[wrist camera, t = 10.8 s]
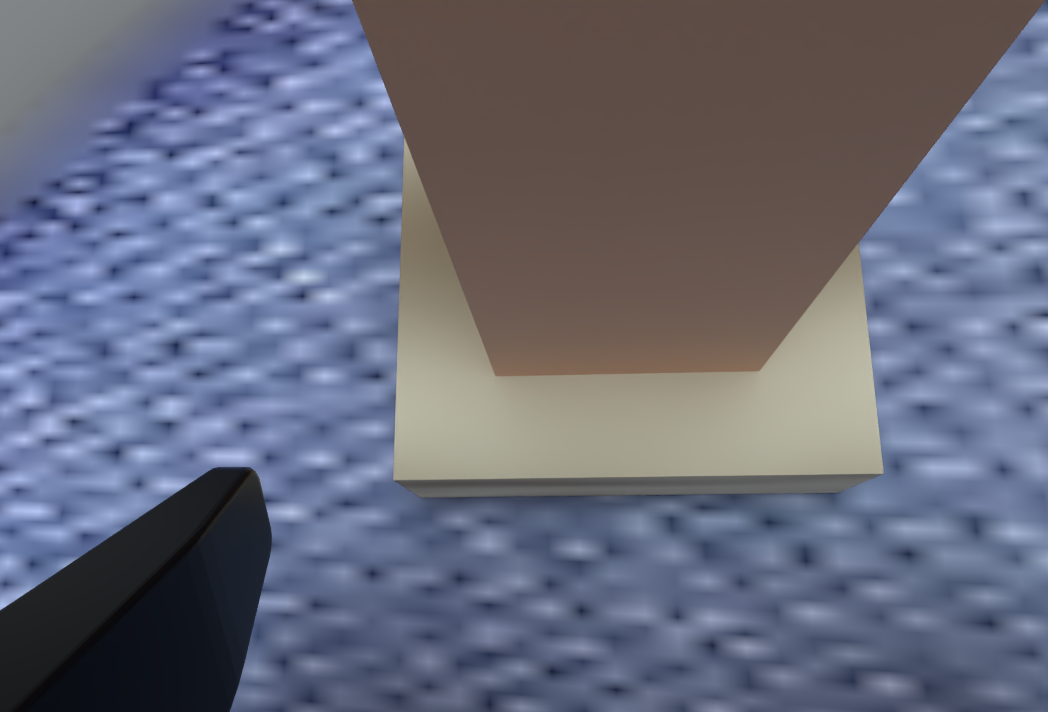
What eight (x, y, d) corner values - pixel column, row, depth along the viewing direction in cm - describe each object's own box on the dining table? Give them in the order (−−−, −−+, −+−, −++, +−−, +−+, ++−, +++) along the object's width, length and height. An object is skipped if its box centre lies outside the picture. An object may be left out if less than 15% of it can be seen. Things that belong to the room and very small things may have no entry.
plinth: (838, 492, 19) (883, 473, 17) (420, 497, 20) (393, 480, 17) (802, 114, 22) (836, 40, 19) (429, 128, 22) (407, 57, 19)
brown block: (759, 371, 17) (1175, -167, 5) (495, 376, 18) (306, -122, 5) (741, 132, 19) (1040, -743, 6) (496, 140, 19) (344, -682, 7)
